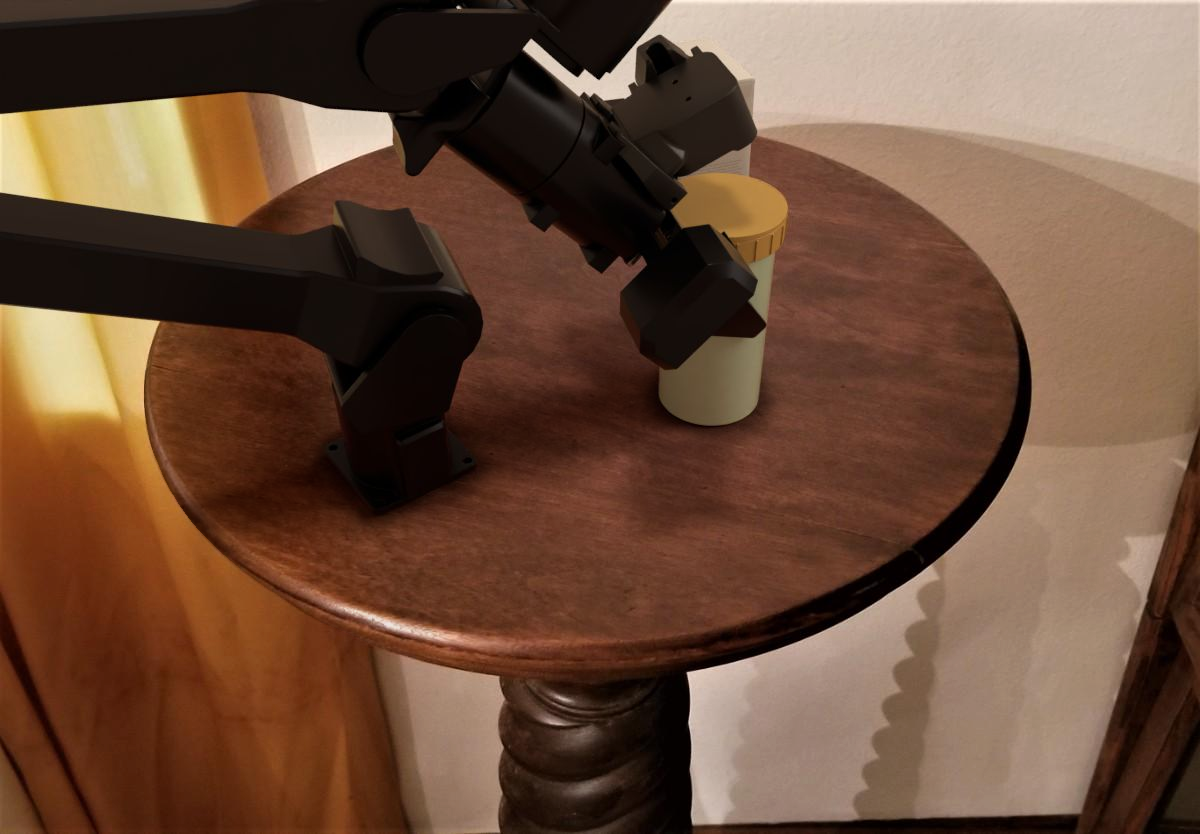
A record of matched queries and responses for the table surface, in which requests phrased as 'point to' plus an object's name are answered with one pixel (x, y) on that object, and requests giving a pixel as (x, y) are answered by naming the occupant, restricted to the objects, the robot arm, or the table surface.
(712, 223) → the jar lid
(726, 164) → the small box
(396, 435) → the robot arm
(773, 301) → the table surface
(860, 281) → the table surface
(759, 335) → the jar
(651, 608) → the table surface
